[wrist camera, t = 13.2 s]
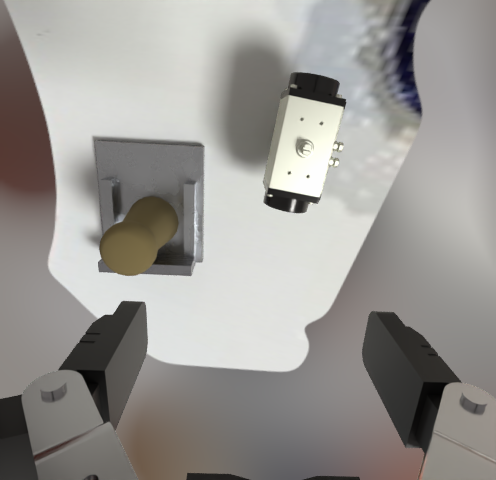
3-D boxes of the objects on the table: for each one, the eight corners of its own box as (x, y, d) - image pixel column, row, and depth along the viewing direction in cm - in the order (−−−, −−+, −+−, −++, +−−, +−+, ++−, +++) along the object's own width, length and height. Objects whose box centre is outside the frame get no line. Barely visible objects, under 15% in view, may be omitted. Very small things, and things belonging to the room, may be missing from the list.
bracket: (98, 140, 39) (78, 143, 34) (204, 146, 39) (199, 149, 34) (108, 255, 43) (91, 271, 39) (203, 259, 44) (198, 276, 39)
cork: (158, 254, 42) (131, 297, 32) (117, 223, 41) (75, 258, 31) (188, 219, 41) (171, 252, 31) (148, 185, 40) (114, 208, 29)
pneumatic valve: (258, 187, 41) (264, 212, 30) (279, 82, 37) (296, 65, 26) (302, 196, 41) (326, 224, 30) (328, 92, 38) (366, 80, 26)
